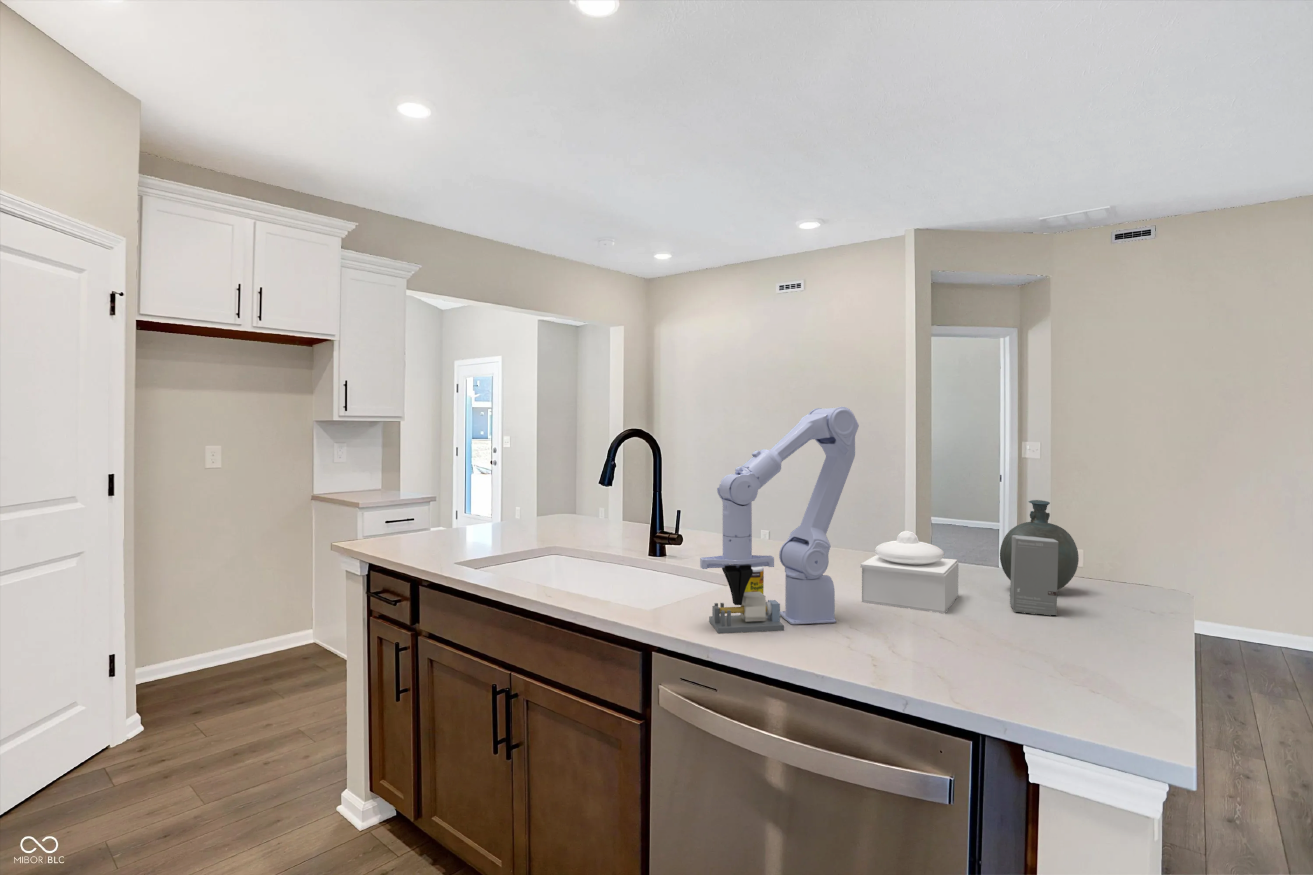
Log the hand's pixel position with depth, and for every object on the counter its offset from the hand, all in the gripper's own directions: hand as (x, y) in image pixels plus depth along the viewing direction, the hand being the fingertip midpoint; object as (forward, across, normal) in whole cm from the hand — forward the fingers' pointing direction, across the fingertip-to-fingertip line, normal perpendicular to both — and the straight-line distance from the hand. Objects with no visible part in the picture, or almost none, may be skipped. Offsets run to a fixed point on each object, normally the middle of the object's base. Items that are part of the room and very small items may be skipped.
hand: (737, 603), depth 129 cm
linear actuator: (+4, -2, 0) cm, 5 cm away
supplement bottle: (+5, -8, -17) cm, 19 cm away
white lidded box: (+5, -45, -15) cm, 47 cm away
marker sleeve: (+3, -3, 0) cm, 4 cm away
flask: (+5, -79, -17) cm, 81 cm away
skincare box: (+5, -66, -2) cm, 66 cm away
